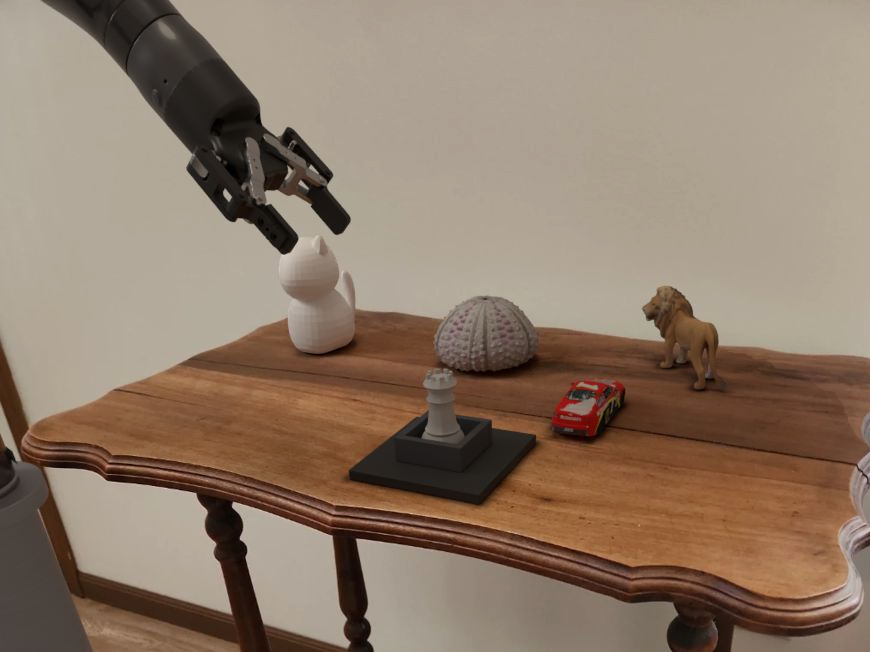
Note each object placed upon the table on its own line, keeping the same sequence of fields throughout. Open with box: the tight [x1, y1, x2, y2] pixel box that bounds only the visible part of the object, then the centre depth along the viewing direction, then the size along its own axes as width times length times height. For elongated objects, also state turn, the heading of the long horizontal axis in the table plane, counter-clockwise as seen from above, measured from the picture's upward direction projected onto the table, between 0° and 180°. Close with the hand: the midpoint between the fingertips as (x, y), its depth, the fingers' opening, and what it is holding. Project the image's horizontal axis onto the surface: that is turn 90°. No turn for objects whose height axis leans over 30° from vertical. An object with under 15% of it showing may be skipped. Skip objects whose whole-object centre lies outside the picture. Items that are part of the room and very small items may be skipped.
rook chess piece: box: [422, 367, 465, 444], centre depth 78 cm, size 4×4×8 cm
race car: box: [551, 377, 626, 438], centre depth 87 cm, size 13×5×4 cm, turn 153°
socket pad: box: [348, 409, 537, 505], centre depth 80 cm, size 14×14×4 cm
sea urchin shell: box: [432, 295, 540, 373], centre depth 102 cm, size 13×14×8 cm
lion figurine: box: [641, 285, 728, 390], centre depth 95 cm, size 15×5×9 cm, turn 24°
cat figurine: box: [278, 234, 356, 355], centre depth 109 cm, size 9×12×15 cm
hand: (319, 237), depth 74 cm, fingers open, 8 cm apart
